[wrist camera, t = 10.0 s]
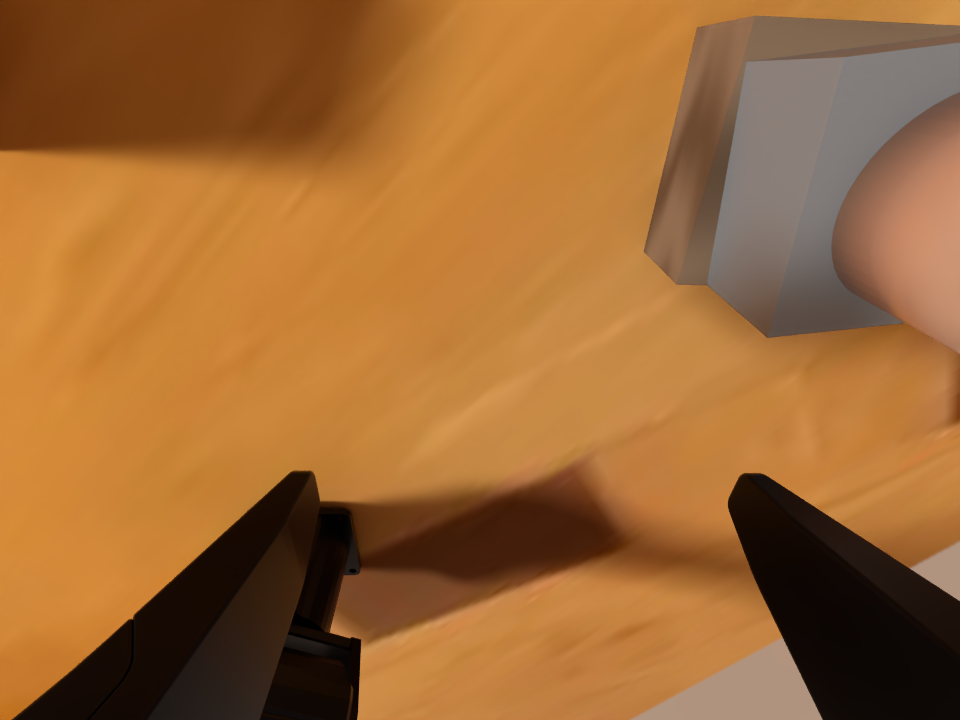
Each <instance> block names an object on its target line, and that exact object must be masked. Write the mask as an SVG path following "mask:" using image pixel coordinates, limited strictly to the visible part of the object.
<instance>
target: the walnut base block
mask: <svg viewBox="0 0 960 720" xmlns="http://www.w3.org/2000/svg"><path fill="white" fill-rule="evenodd" d="M958 34H960V26H956V25H935V24H915V23H894V22H874V21H853V20H833V19H812V18H792V17H771V16H751V17H746V18H742V19H737V20H732V21H727V22H722V23H717V24H712V25H707V26H702V27H697V31H696V35H695V39H694V43H693V48H692V52H691V56H690V60H689V64H688V69H687V73H686V77H685V81H684V85H683V89H682V94H681V98H680V102H679V106H678V110H677V115H676V119H675V123H674V127H673V131H672V136H671V140H670V144H669V148H668V152H667V157H666V161H665V165H664V169H663V173H662V177H661V182H660V186H659V190H658V194H657V198H656V203H655V207H654V211H653V215H652V219H651V224H650V228H649V232H648V236H647V240H646V244H645V249H644V252H645V253H646V254H647V255H648V256H649V257H650V258H651V259H652V260H653V261H654V262H655V263H656V264H657V265H658V266H659V267H660V268H661V269H662V270H663V271H664V272H665V273H666V274H667V275H668V276H669V277H670V278H671V279H672V280H673V281H674V282H675V283H676V284H678V285H707V280H708V275H709V269H710V264H711V258H712V252H713V247H714V241H715V236H716V230H717V224H718V219H719V213H720V208H721V202H722V196H723V191H724V185H725V180H726V174H727V168H728V163H729V157H730V151H731V146H732V140H733V135H734V129H735V123H736V118H737V112H738V107H739V101H740V95H741V90H742V84H743V79H744V73H745V67H746V62H748V61H755V60H763V59H771V58H779V57H787V56H794V55H802V54H810V53H818V52H826V51H833V50H841V49H849V48H857V47H865V46H873V45H880V44H888V43H896V42H904V41H912V40H919V39H927V38H935V37H943V36H951V35H958Z"/></svg>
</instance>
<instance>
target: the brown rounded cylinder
mask: <svg viewBox="0 0 960 720" xmlns="http://www.w3.org/2000/svg"><path fill="white" fill-rule="evenodd" d="M831 249H832V261H833V265H834V269H835V271H836V274H837V276H838V278H839V279H840V281H841V282H842V284H843V285H844V286H845V287H846V288H847V289H848V290H849V291H850V292H851V293H853V294H855V295H856V296H858V297H859V298H861V299H863V300H865V301H867V302H868V303H870V304H872V305H874V306H875V307H877V308H879V309H881V310H883V311H884V312H886V313H888V314H890V315H891V316H893V317H895V318H897V319H899V320H900V321H902V322H904V323H906V324H907V325H909V326H911V327H913V328H915V329H916V330H918V331H920V332H922V333H923V334H925V335H927V336H929V337H931V338H932V339H934V340H936V341H938V342H939V343H941V344H943V345H945V346H947V347H948V348H950V349H952V350H954V351H955V352H957V353H959V354H960V92H959V93H957V94H954V95H952V96H950V97H948V98H946V99H944V100H942V101H941V102H939V103H937V104H935V105H933V106H932V107H930V108H929V109H927V110H926V111H924V112H923V113H921V114H920V115H918V116H917V117H915V118H914V119H913V120H911V121H910V122H909V123H908V124H906V125H905V126H904V127H903V128H901V129H900V130H899V131H898V132H897V133H896V134H895V135H894V136H892V137H891V138H890V139H889V140H888V141H887V142H886V143H885V144H884V145H883V146H882V147H881V148H880V149H879V150H878V152H877V153H876V154H875V155H874V156H873V157H872V158H871V159H870V161H869V162H868V163H867V165H866V166H865V167H864V168H863V170H862V171H861V172H860V174H859V175H858V177H857V178H856V180H855V181H854V183H853V185H852V186H851V188H850V189H849V191H848V193H847V195H846V197H845V199H844V201H843V203H842V205H841V208H840V211H839V213H838V216H837V218H836V222H835V226H834V230H833V236H832V244H831Z"/></svg>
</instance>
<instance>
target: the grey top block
mask: <svg viewBox="0 0 960 720" xmlns="http://www.w3.org/2000/svg"><path fill="white" fill-rule="evenodd" d="M959 92H960V34H958V35H951V36H943V37H935V38H927V39H919V40H912V41H904V42H896V43H888V44H880V45H873V46H865V47H857V48H849V49H841V50H833V51H826V52H818V53H810V54H802V55H794V56H787V57H779V58H771V59H763V60H755V61H748V62H746V67H745V73H744V79H743V84H742V90H741V95H740V101H739V107H738V112H737V118H736V123H735V129H734V135H733V140H732V146H731V151H730V157H729V163H728V168H727V174H726V180H725V185H724V191H723V196H722V202H721V208H720V213H719V219H718V224H717V230H716V236H715V241H714V247H713V252H712V258H711V264H710V269H709V275H708V280H707V285H708V286H709V287H710V288H711V289H712V290H713V291H714V292H716V293H717V294H718V295H719V296H720V297H721V298H722V299H724V300H725V301H726V302H727V303H728V304H729V305H731V306H732V307H733V308H734V309H735V310H736V311H737V312H739V313H740V314H741V315H742V316H743V317H744V318H745V319H747V320H748V321H749V322H750V323H751V324H752V325H753V326H755V327H756V328H757V329H758V330H759V331H760V332H761V333H763V334H764V335H765V336H766V337H767V338H769V337H779V336H788V335H798V334H807V333H817V332H826V331H835V330H845V329H854V328H864V327H873V326H883V325H892V324H902V323H904V322H902V321H900V320H899V319H897V318H895V317H893V316H891V315H890V314H888V313H886V312H884V311H883V310H881V309H879V308H877V307H875V306H874V305H872V304H870V303H868V302H867V301H865V300H863V299H861V298H859V297H858V296H856V295H855V294H853V293H851V292H850V291H849V290H848V289H847V288H846V287H845V286H844V285H843V284H842V282H841V281H840V279H839V278H838V276H837V274H836V271H835V269H834V265H833V261H832V249H831V244H832V236H833V230H834V226H835V222H836V218H837V216H838V213H839V211H840V208H841V205H842V203H843V201H844V199H845V197H846V195H847V193H848V191H849V189H850V188H851V186H852V185H853V183H854V181H855V180H856V178H857V177H858V175H859V174H860V172H861V171H862V170H863V168H864V167H865V166H866V165H867V163H868V162H869V161H870V159H871V158H872V157H873V156H874V155H875V154H876V153H877V152H878V150H879V149H880V148H881V147H882V146H883V145H884V144H885V143H886V142H887V141H888V140H889V139H890V138H891V137H892V136H894V135H895V134H896V133H897V132H898V131H899V130H900V129H901V128H903V127H904V126H905V125H906V124H908V123H909V122H910V121H911V120H913V119H914V118H915V117H917V116H918V115H920V114H921V113H923V112H924V111H926V110H927V109H929V108H930V107H932V106H933V105H935V104H937V103H939V102H941V101H942V100H944V99H946V98H948V97H950V96H952V95H954V94H957V93H959Z"/></svg>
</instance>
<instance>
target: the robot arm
mask: <svg viewBox="0 0 960 720" xmlns="http://www.w3.org/2000/svg"><path fill="white" fill-rule="evenodd" d="M319 507H320V498H319V493H318V488H317V483H316V478H315V475H314V473H313V472H312V471H292V472H290V473H289V474H288V475H287V476H286V477H285V478H284V479H282V480H281V481H280V482H279V483H278V484H277V485H276V486H275V487H274V488H273V489H271V490H270V491H269V492H268V493H267V494H266V495H265V496H264V497H263V498H262V499H260V500H259V501H258V502H257V503H256V504H255V505H254V506H253V507H252V508H251V509H249V510H248V511H247V512H246V513H245V514H244V515H243V516H242V517H241V518H240V519H239V520H237V521H236V522H235V523H234V524H233V525H232V526H231V527H230V528H229V529H228V530H226V531H225V532H224V533H223V534H222V535H221V536H220V537H219V538H218V539H217V540H216V541H214V542H213V543H212V544H211V545H210V546H209V547H208V548H207V549H206V550H205V551H203V552H202V553H201V554H200V555H199V556H198V557H197V558H196V559H195V560H194V561H192V562H191V563H190V564H189V565H188V566H187V567H186V568H185V569H184V570H183V571H182V572H180V573H179V574H178V575H177V576H176V577H175V578H174V579H173V580H172V581H171V582H169V583H168V584H167V585H166V586H165V587H164V588H163V589H162V590H161V591H160V592H158V593H157V594H156V595H155V596H154V597H153V598H152V599H151V600H150V601H149V602H148V603H146V604H145V605H144V606H143V607H142V608H141V609H140V610H139V611H138V612H137V613H135V614H134V616H133V619H129V620H128V621H126V622H125V623H124V624H123V625H122V626H121V627H120V628H119V629H118V630H117V631H115V632H114V633H113V634H112V635H111V636H110V637H109V638H108V639H107V640H106V641H104V642H103V643H102V644H101V645H100V646H99V647H98V648H96V649H95V650H94V651H93V652H92V653H91V654H90V655H89V656H87V657H86V658H85V659H84V660H83V661H82V662H81V663H79V664H78V665H77V666H76V667H75V668H74V669H73V670H71V671H70V672H69V673H68V674H67V675H65V676H64V677H63V678H62V679H61V680H59V681H58V682H57V683H56V684H55V685H53V686H52V687H51V688H50V689H49V690H47V691H46V692H45V693H44V694H43V695H41V696H40V697H39V698H38V699H36V700H35V701H34V702H33V703H32V704H30V705H29V706H28V707H27V708H26V709H24V710H23V711H22V712H21V713H19V714H18V715H17V716H16V717H14V718H13V719H12V720H357V715H358V699H359V676H360V653H361V639H357V638H354V637H351V638H347V637H343V636H339V635H336V634H332V633H330V629H331V624H332V620H333V616H334V612H335V608H336V604H337V600H338V596H339V592H340V588H341V584H342V579H343V575H357V574H359V573H360V569H361V562H360V557H359V551H358V546H357V541H356V535H355V530H354V525H353V519H352V514H351V512H350V511H349V510H347V509H319ZM728 509H729V512H730V515H731V518H732V520H733V523H734V526H735V528H736V531H737V534H738V537H739V539H740V542H741V545H742V547H743V550H744V553H745V555H746V558H747V561H748V563H749V566H750V569H751V571H752V574H753V576H754V579H755V581H756V583H757V585H758V587H759V590H760V592H761V594H762V596H763V598H764V600H765V602H766V604H767V606H768V608H769V610H770V612H771V614H772V616H773V619H774V621H775V623H776V625H777V627H778V629H779V631H780V633H781V635H782V637H783V639H784V641H785V643H786V645H787V647H788V649H789V651H790V654H791V655H792V658H793V660H794V662H795V664H796V666H797V668H798V670H799V672H800V674H801V676H802V678H803V680H804V682H805V684H806V686H807V689H808V691H809V693H810V695H811V697H812V699H813V701H814V703H815V705H816V707H817V709H818V711H819V713H820V715H821V717H822V719H823V720H960V601H958V600H957V599H956V598H954V597H953V596H951V595H949V594H948V593H946V592H945V591H943V590H942V589H940V588H939V587H937V586H936V585H934V584H932V583H931V582H929V581H928V580H926V579H925V578H923V577H922V576H920V575H919V574H917V573H916V572H914V571H913V570H911V569H909V568H908V567H906V566H905V565H903V564H902V563H900V562H899V561H897V560H896V559H894V558H892V557H891V556H889V555H888V554H886V553H885V552H883V551H882V550H880V549H879V548H877V547H876V546H874V545H872V544H871V543H869V542H868V541H866V540H865V539H863V538H862V537H860V536H859V535H857V534H855V533H854V532H852V531H851V530H849V529H848V528H846V527H845V526H843V525H842V524H840V523H839V522H837V521H835V520H834V519H832V518H831V517H829V516H828V515H826V514H825V513H823V512H822V511H820V510H819V509H817V508H815V507H814V506H812V505H811V504H809V503H808V502H806V501H805V500H803V499H802V498H800V497H798V496H797V495H795V494H794V493H792V492H791V491H789V490H788V489H786V488H785V487H783V486H782V485H780V484H778V483H777V482H775V481H774V480H772V479H771V478H769V477H768V476H766V475H764V474H761V473H744V474H742V475H740V477H739V478H738V480H737V482H736V484H735V486H734V488H733V490H732V492H731V494H730V497H729V499H728Z"/></svg>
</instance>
